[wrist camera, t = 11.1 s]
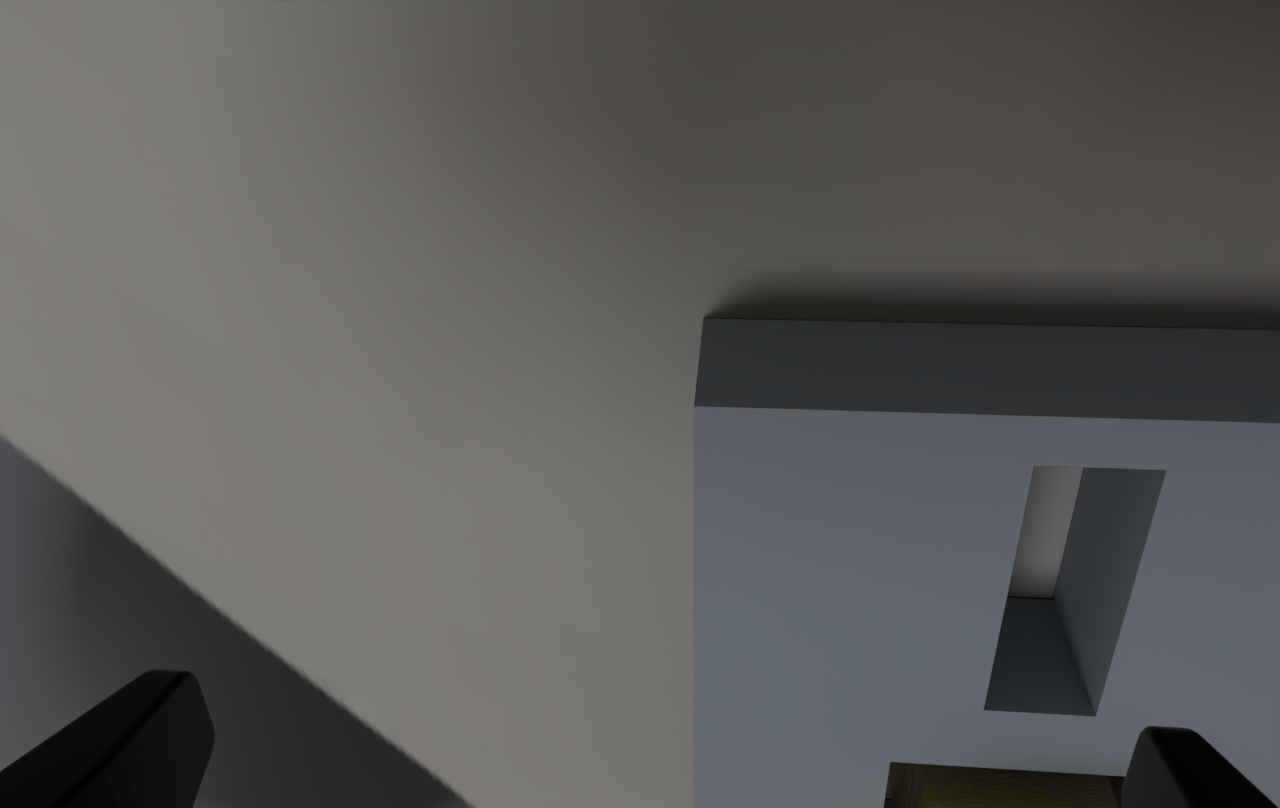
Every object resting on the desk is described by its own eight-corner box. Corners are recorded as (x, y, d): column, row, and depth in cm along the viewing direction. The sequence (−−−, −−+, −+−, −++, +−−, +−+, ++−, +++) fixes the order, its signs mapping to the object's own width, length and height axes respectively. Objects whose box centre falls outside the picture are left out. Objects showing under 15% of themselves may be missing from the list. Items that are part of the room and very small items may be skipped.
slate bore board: (1440, 333, 19) (1565, 432, 16) (1218, 864, 28) (1275, 994, 25) (703, 318, 21) (693, 406, 18) (699, 827, 29) (693, 947, 26)
